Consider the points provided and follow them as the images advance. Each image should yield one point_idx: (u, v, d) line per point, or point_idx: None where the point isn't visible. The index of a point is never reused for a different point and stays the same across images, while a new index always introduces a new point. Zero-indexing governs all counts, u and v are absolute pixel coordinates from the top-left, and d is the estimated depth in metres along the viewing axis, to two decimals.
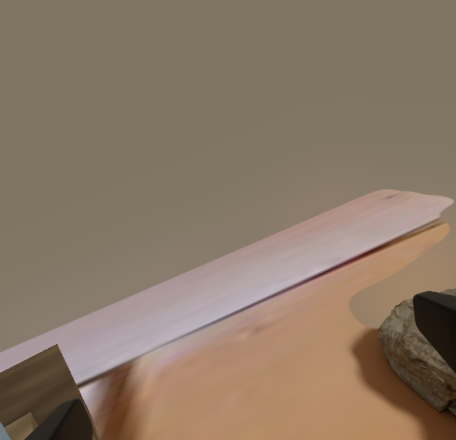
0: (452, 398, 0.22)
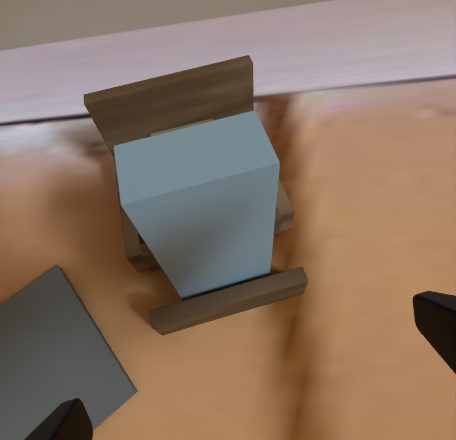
0: None
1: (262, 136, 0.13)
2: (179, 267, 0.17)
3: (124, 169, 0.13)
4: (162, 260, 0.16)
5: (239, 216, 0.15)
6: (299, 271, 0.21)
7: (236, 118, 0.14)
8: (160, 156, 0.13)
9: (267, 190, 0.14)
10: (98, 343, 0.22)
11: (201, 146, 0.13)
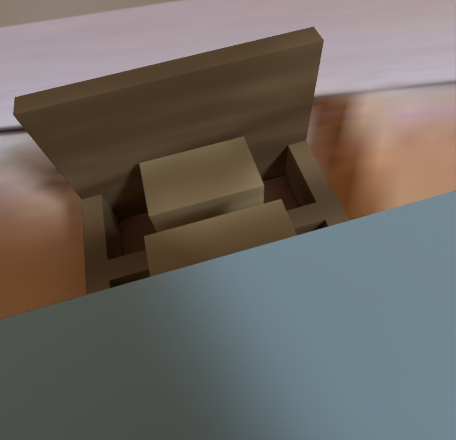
0: None
1: None
2: None
3: None
4: None
5: None
6: None
7: None
8: (137, 432, 0.02)
9: None
10: None
11: (348, 372, 0.03)
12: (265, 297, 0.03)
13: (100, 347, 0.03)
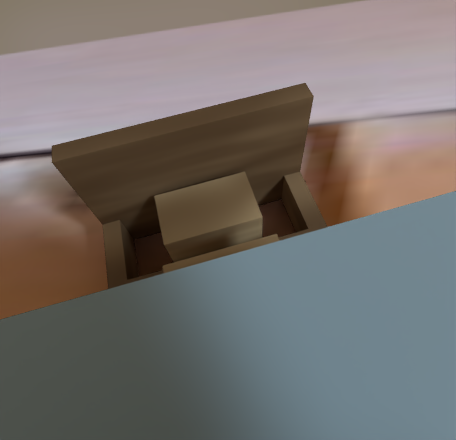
0: None
1: None
2: None
3: None
4: None
5: None
6: None
7: None
8: (138, 432, 0.02)
9: None
10: None
11: (348, 373, 0.03)
12: (265, 297, 0.03)
13: (101, 347, 0.03)
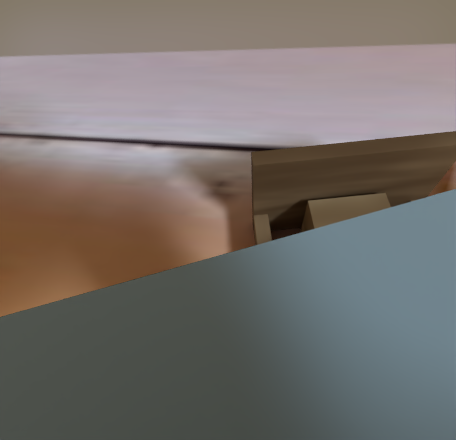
0: None
1: None
2: None
3: None
4: None
5: None
6: None
7: None
8: (141, 428, 0.02)
9: None
10: None
11: (351, 368, 0.03)
12: (267, 294, 0.03)
13: (103, 344, 0.03)
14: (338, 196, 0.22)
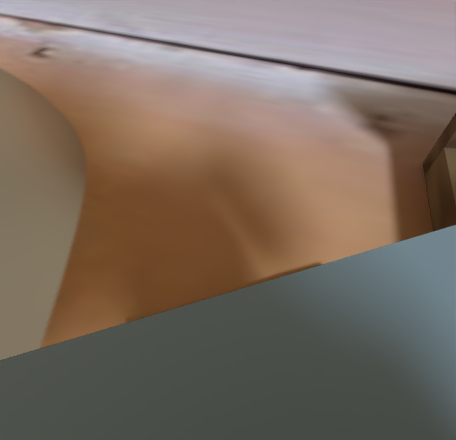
0: None
1: None
2: None
3: None
4: None
5: None
6: None
7: (426, 248, 0.04)
8: (170, 432, 0.03)
9: None
10: None
11: (330, 386, 0.03)
12: (266, 325, 0.04)
13: (137, 366, 0.04)
14: None
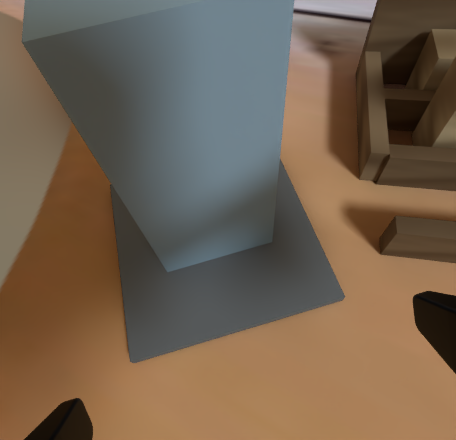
0: None
1: None
2: (148, 201, 0.12)
3: (37, 0, 0.08)
4: (121, 185, 0.11)
5: (230, 106, 0.10)
6: None
7: None
8: None
9: (273, 50, 0.09)
10: (308, 232, 0.19)
11: None
12: None
13: None
14: None
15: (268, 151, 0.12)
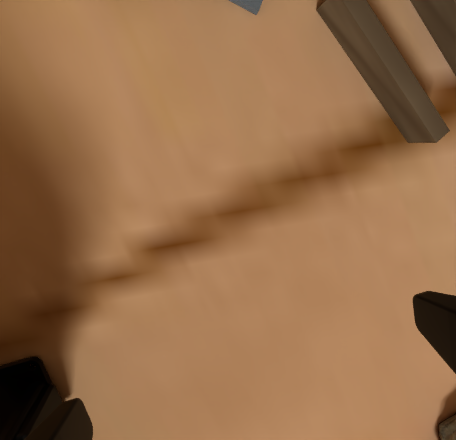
0: None
1: None
2: None
3: None
4: None
5: None
6: (443, 130, 0.19)
7: None
8: None
9: None
10: None
11: None
12: None
13: None
14: None
15: None
